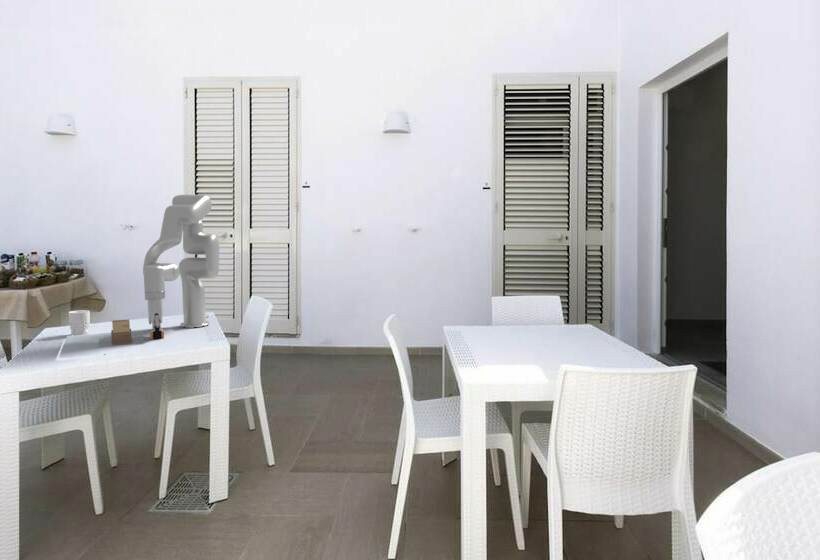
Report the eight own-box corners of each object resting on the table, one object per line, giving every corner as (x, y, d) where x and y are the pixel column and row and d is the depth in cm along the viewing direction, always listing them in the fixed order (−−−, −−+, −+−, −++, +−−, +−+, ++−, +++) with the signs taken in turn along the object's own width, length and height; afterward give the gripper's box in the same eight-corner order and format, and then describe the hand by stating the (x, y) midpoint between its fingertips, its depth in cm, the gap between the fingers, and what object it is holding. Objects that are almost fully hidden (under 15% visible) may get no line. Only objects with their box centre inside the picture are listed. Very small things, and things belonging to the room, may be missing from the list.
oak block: (112, 330, 227) (112, 320, 226) (129, 328, 230) (128, 319, 229) (112, 333, 222) (112, 322, 221) (130, 331, 224) (129, 321, 224)
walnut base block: (111, 339, 228) (111, 330, 227) (131, 338, 231) (130, 328, 230) (111, 343, 221) (111, 333, 221) (131, 341, 225) (131, 331, 224)
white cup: (66, 336, 238) (65, 313, 236) (74, 332, 245) (72, 310, 244) (87, 336, 239) (85, 312, 238) (93, 332, 247) (92, 309, 246)
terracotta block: (150, 339, 233) (149, 329, 233) (163, 338, 235) (162, 328, 235) (150, 341, 229) (150, 332, 228) (164, 340, 231) (163, 331, 230)
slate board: (99, 341, 230) (99, 338, 229) (143, 337, 237) (143, 334, 237) (98, 349, 215) (98, 346, 215) (144, 345, 223) (144, 342, 223)
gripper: (143, 293, 236) (146, 336, 238) (145, 298, 221) (148, 344, 223) (163, 292, 239) (165, 334, 241) (166, 297, 224) (168, 342, 226)
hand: (157, 338), depth 232 cm, fingers closed on terracotta block, 4 cm apart
